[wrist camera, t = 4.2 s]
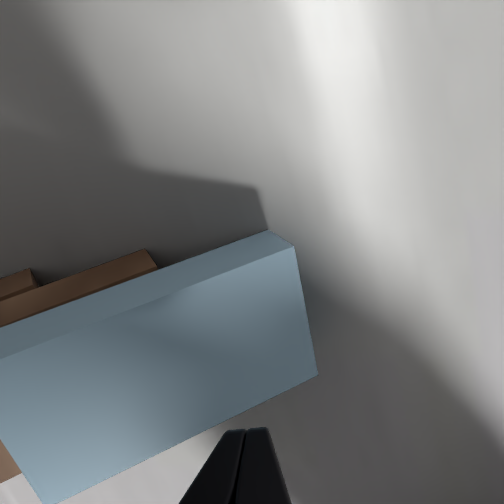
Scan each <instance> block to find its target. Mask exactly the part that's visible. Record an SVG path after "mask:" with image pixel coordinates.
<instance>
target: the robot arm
mask: <svg viewBox="0 0 504 504" xmlns="http://www.w3.org/2000/svg"><path fill="white" fill-rule="evenodd" d="M179 504H292V503H291V500H290V497H289V494H288V490H287V487H286V484H285V481H284V478H283V475H282V471H281V468H280V465H279V462H278V459H277V455H276V452H275V449H274V446H273V443H272V440H271V436H270V433H269V430H268V429H267V428H266V427H260V428H250V429H248V431H247V430H245V429H236V430H228V431H226V432H225V433H224V435H223V436H222V438H221V439H220V441H219V442H218V444H217V445H216V447H215V448H214V450H213V452H212V453H211V455H210V456H209V458H208V459H207V461H206V462H205V464H204V465H203V467H202V469H201V470H200V472H199V473H198V475H197V476H196V478H195V479H194V481H193V482H192V484H191V486H190V487H189V489H188V490H187V492H186V493H185V495H184V496H183V498H182V499H181V501H180V502H179Z"/></svg>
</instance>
